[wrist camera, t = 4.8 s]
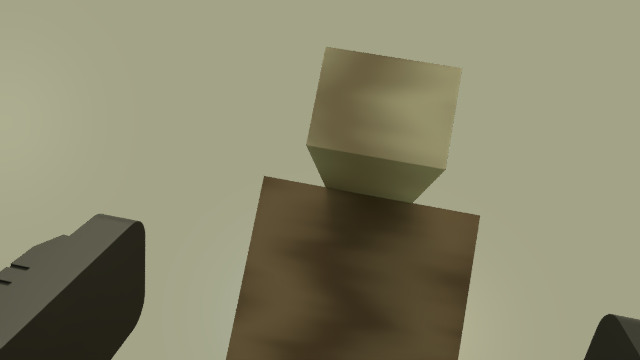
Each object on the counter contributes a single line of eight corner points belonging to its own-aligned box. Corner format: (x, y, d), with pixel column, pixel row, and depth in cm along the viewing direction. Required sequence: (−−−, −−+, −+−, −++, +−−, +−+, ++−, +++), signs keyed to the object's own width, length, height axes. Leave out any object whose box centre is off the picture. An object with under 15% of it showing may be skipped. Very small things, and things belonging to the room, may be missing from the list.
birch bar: (306, 145, 16) (350, -78, 16) (335, 208, 35) (354, 105, 36) (445, 169, 15) (483, -60, 16) (396, 219, 35) (414, 115, 36)
